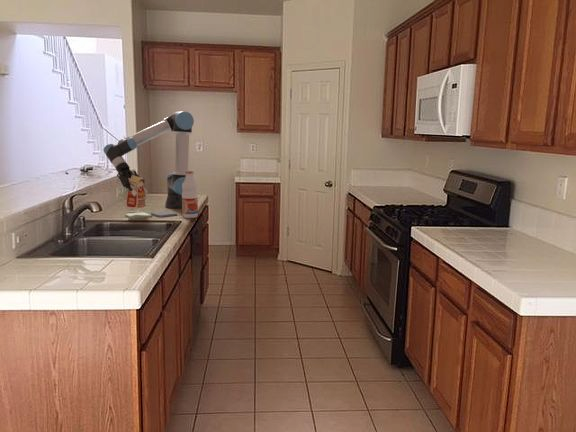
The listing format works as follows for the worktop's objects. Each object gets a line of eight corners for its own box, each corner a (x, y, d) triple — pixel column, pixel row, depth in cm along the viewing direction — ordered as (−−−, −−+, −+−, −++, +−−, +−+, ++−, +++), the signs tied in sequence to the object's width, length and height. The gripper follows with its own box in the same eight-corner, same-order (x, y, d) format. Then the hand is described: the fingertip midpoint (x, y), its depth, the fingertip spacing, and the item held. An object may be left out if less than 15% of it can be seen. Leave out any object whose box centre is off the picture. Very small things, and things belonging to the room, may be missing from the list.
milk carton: (125, 207, 293) (124, 174, 290) (134, 205, 302) (133, 173, 298) (138, 209, 290) (137, 175, 287) (147, 206, 299) (146, 174, 296)
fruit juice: (189, 215, 306) (188, 170, 301) (201, 216, 302) (200, 171, 297) (179, 217, 298) (178, 171, 293) (191, 218, 293) (190, 172, 288)
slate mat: (168, 212, 313) (168, 210, 312) (177, 215, 304) (177, 213, 304) (150, 214, 305) (150, 212, 305) (159, 217, 296) (159, 215, 296)
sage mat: (143, 214, 306) (143, 212, 306) (151, 216, 297) (151, 214, 297) (124, 216, 298) (124, 214, 298) (133, 218, 289) (133, 217, 289)
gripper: (130, 168, 309) (150, 196, 304) (104, 170, 291) (124, 199, 286) (136, 160, 305) (156, 188, 300) (110, 162, 288) (130, 191, 283)
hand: (140, 193), depth 293 cm, fingers closed on milk carton, 8 cm apart
